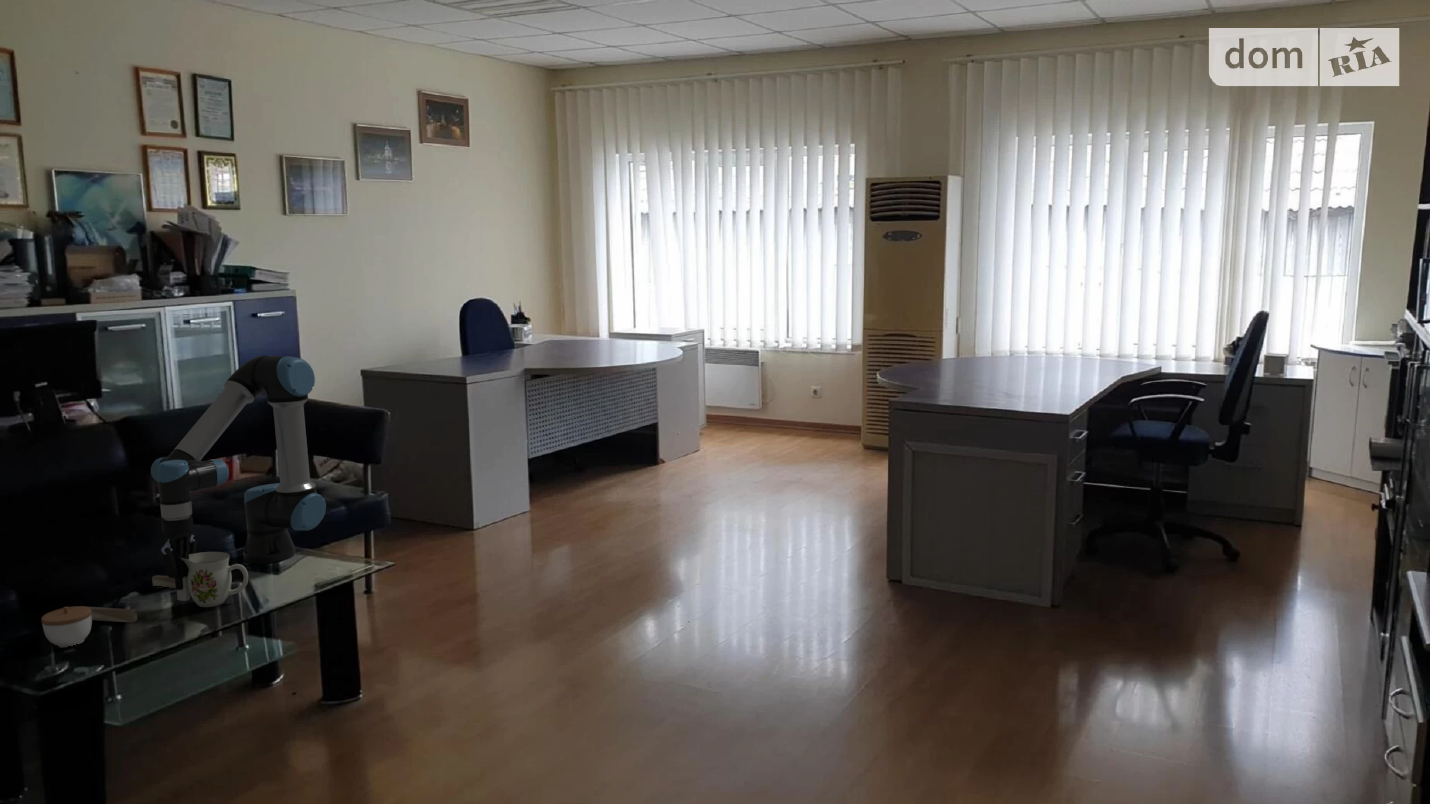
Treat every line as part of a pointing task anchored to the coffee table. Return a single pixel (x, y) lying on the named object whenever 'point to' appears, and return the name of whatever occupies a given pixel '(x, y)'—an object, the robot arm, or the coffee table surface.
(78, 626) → the lidded jar
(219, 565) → the pitcher
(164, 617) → the coffee table surface
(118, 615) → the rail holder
